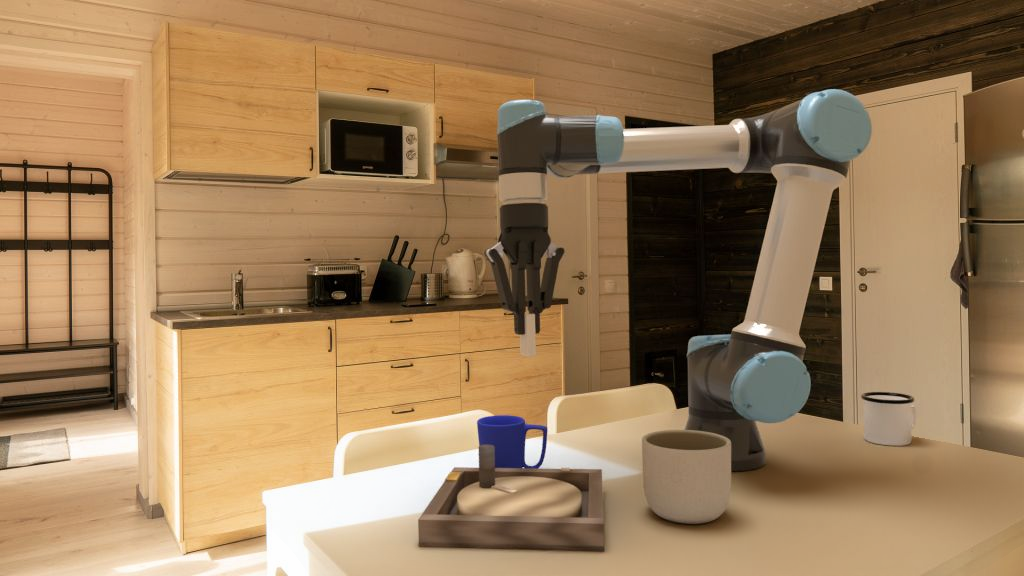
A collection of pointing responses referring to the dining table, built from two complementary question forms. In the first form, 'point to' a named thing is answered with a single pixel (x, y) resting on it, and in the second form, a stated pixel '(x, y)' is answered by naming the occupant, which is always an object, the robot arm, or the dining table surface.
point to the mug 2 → (888, 418)
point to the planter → (687, 474)
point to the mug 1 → (508, 439)
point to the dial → (517, 494)
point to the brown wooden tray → (515, 531)
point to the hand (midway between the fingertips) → (528, 355)
